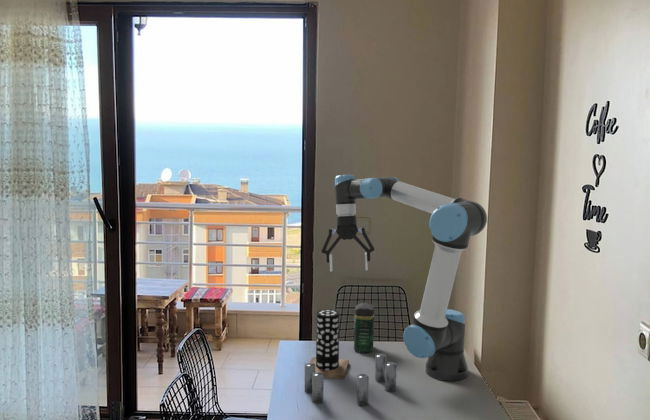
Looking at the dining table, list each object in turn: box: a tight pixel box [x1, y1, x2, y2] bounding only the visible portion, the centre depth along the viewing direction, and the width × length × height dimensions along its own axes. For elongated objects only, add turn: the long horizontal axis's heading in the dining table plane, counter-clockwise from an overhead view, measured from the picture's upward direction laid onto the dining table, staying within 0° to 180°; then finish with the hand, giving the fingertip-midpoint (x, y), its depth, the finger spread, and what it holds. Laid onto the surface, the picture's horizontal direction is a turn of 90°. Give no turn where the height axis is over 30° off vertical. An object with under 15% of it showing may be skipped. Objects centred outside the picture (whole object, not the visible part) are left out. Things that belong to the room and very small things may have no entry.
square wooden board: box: [309, 356, 350, 380], centre depth 198 cm, size 14×14×2 cm
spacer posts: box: [304, 352, 397, 407], centre depth 181 cm, size 30×24×9 cm
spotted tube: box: [315, 308, 340, 370], centre depth 197 cm, size 8×8×20 cm
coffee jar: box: [353, 302, 375, 354], centre depth 217 cm, size 10×8×19 cm
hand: (349, 270), depth 207 cm, fingers open, 13 cm apart
